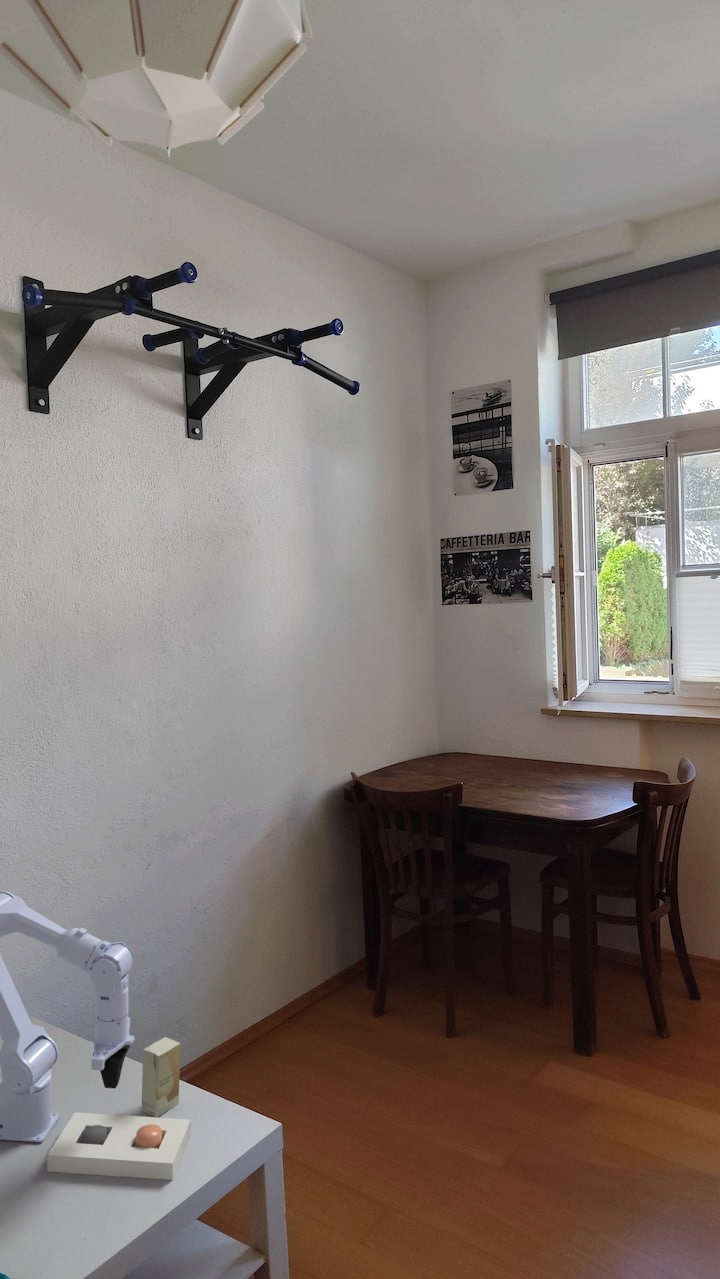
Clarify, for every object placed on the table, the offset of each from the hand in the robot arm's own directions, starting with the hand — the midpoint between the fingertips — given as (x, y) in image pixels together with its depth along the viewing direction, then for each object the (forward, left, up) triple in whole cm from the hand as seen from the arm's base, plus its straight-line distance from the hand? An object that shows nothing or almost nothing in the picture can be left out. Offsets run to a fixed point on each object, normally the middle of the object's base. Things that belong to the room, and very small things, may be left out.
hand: (111, 1086), depth 156 cm
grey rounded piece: (-2, -3, -10) cm, 11 cm away
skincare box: (+6, +11, -11) cm, 16 cm away
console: (+3, -3, -10) cm, 11 cm away
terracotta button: (+8, -3, -9) cm, 13 cm away
